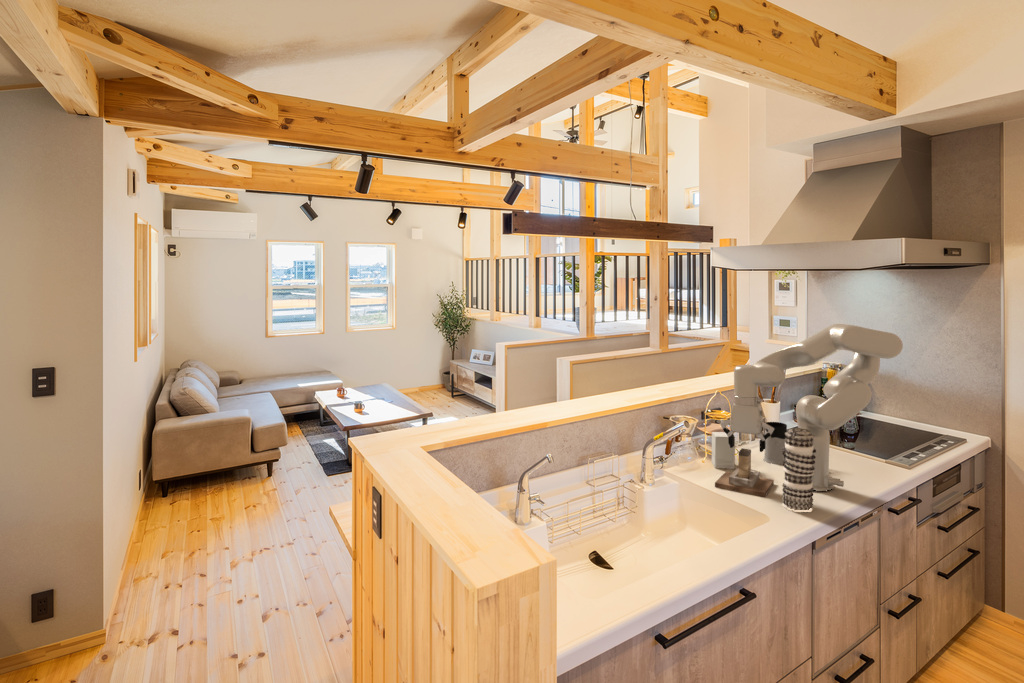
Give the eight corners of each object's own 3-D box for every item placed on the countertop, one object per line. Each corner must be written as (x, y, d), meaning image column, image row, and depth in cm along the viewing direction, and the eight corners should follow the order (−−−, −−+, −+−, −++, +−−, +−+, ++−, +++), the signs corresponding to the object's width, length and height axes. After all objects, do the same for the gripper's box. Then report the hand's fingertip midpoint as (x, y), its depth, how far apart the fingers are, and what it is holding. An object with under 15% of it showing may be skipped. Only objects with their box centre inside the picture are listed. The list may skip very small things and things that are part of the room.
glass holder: (762, 456, 208) (762, 420, 207) (801, 459, 203) (802, 423, 202) (764, 463, 200) (765, 426, 199) (805, 466, 195) (806, 428, 194)
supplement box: (735, 469, 194) (735, 437, 193) (714, 468, 196) (715, 436, 195) (730, 462, 201) (731, 431, 200) (711, 462, 203) (711, 431, 202)
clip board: (773, 484, 178) (773, 473, 178) (764, 497, 167) (764, 485, 167) (726, 475, 188) (726, 464, 188) (714, 486, 177) (715, 475, 177)
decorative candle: (792, 499, 165) (794, 424, 163) (820, 509, 157) (823, 430, 155) (774, 505, 161) (776, 428, 159) (802, 516, 153) (805, 435, 150)
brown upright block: (750, 479, 179) (751, 449, 178) (747, 484, 175) (748, 453, 174) (741, 478, 181) (741, 448, 180) (738, 482, 177) (738, 452, 176)
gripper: (776, 400, 173) (776, 449, 174) (723, 396, 183) (724, 442, 185) (771, 405, 167) (771, 455, 168) (717, 400, 178) (717, 448, 179)
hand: (746, 448), depth 177 cm, fingers open, 9 cm apart
